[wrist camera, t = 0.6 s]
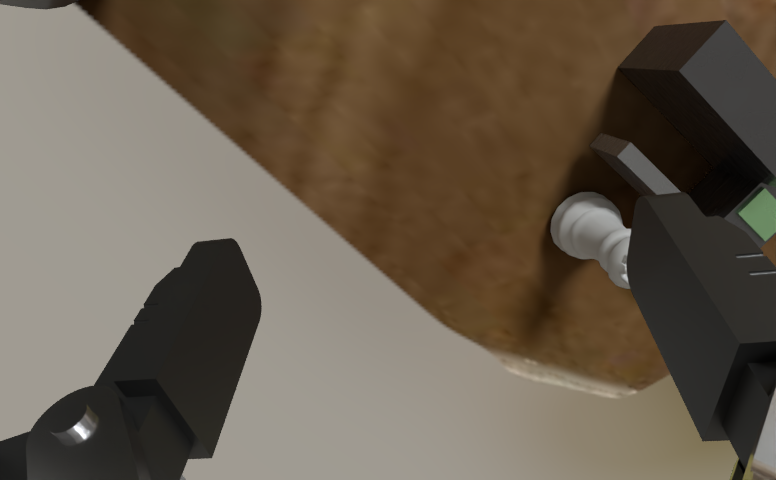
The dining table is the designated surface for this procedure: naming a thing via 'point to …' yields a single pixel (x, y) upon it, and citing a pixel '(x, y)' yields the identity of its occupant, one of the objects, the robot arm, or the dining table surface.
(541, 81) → the dining table surface
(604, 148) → the gauge plate
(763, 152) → the gauge frame
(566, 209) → the rook chess piece
